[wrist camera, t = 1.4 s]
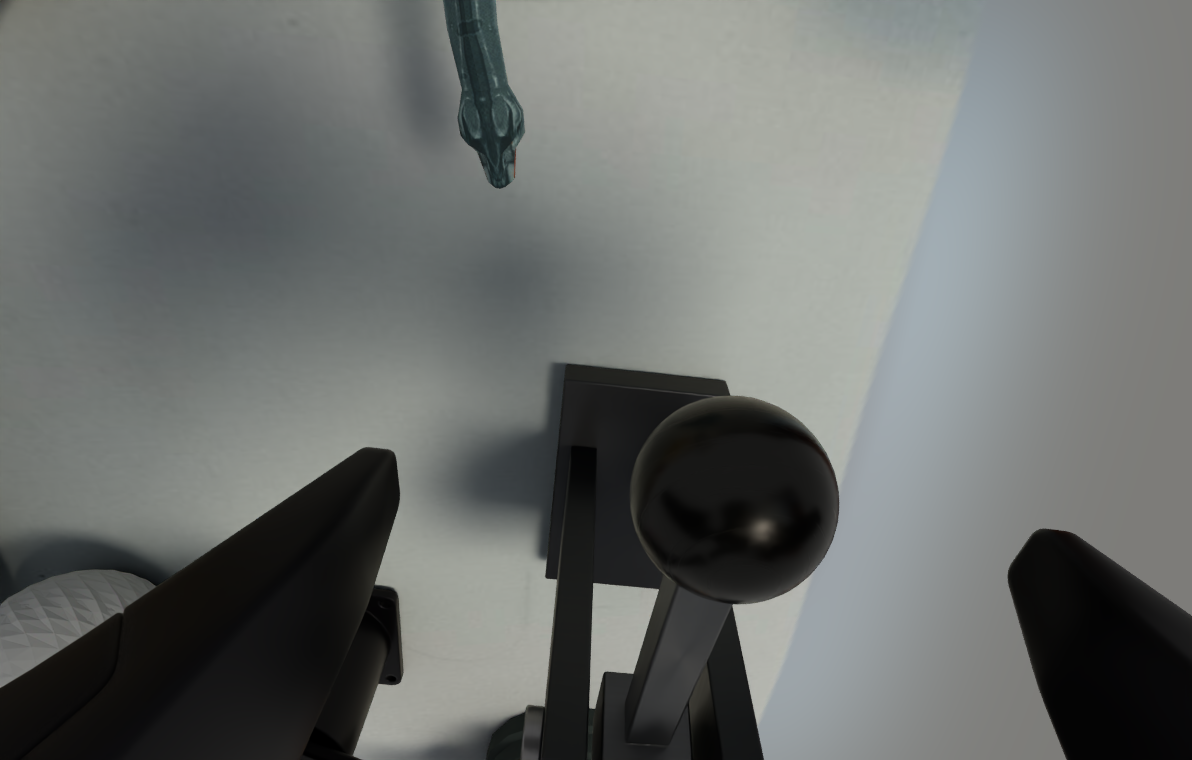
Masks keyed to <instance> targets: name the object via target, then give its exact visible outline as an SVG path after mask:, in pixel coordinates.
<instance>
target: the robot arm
mask: <svg viewBox="0 0 1192 760" xmlns="http://www.w3.org/2000/svg"><path fill="white" fill-rule="evenodd" d="M399 501H400V488H399V479H398V470H397V461H396V456H395V454H394V452H393V451H391V450H388V449H380V448H372V447H365V448H362V449H360V450H359V451H357V452H356V453H354V454H353V455H351V456H350V457H348V458H347V459H345V460H344V461H342V462H341V463H339V464H338V465H336V466H335V467H333V468H332V469H330V470H329V471H327V472H326V473H324V474H323V475H321V476H320V477H318V478H317V479H316V480H314V481H313V482H311V483H310V484H308V485H307V486H305V487H304V488H302V489H301V490H299V491H298V492H296V493H295V494H293V495H292V496H290V497H289V498H287V499H286V500H284V501H283V502H281V503H280V504H278V505H277V506H275V507H274V508H272V509H271V510H269V511H268V512H266V513H265V514H263V515H262V516H261V517H259V518H258V519H256V520H255V521H253V522H252V523H250V524H249V525H247V526H246V527H244V528H243V529H241V530H240V531H238V532H237V533H235V534H234V535H232V536H231V537H229V538H228V539H226V540H225V541H223V542H222V543H220V544H219V545H217V546H216V547H214V548H213V549H211V550H210V551H208V552H207V553H205V554H204V555H203V556H201V557H200V558H198V559H197V560H195V561H194V562H192V563H191V564H189V565H188V566H186V567H185V568H183V569H182V570H180V571H179V572H177V573H176V574H174V575H173V576H171V577H170V578H168V579H167V580H165V581H164V582H162V583H161V584H159V585H158V586H156V587H155V588H153V589H152V590H150V591H149V592H147V593H146V594H145V595H143V596H142V597H140V598H139V599H137V600H136V601H134V602H133V603H131V604H130V605H128V606H127V607H125V609H124V611H123V613H116V614H114V615H113V616H111V617H110V618H108V619H107V620H105V621H104V622H102V623H101V624H100V625H98V626H97V627H95V628H94V629H92V630H91V631H89V632H88V633H86V634H85V635H83V636H82V637H80V638H78V639H77V640H75V641H74V642H72V643H71V644H69V645H68V646H66V647H65V648H63V649H61V650H60V651H58V652H57V653H55V654H54V655H52V656H51V657H49V658H48V659H46V660H44V661H43V662H41V663H40V664H38V665H37V666H35V667H34V668H32V669H31V670H29V671H27V672H26V673H24V674H22V675H21V676H19V677H17V678H16V679H14V680H12V681H11V682H9V683H7V684H6V685H4V686H2V687H1V688H0V760H362V759H359V758H356V757H354V756H353V754H354V751H355V748H356V745H357V742H358V739H359V737H360V734H361V731H362V728H363V725H364V722H365V720H366V717H367V714H368V711H369V708H370V705H371V702H372V700H373V697H374V694H375V691H376V688H377V685H378V684H387V685H396V684H399V683H400V682H401V679H402V676H403V673H404V672H403V658H402V643H401V629H400V614H399V599H398V596H397V594H396V593H395V592H393V591H390V590H384V589H374V588H373V587H374V584H375V581H376V578H377V575H378V571H379V568H380V565H381V562H382V558H383V555H384V552H385V549H386V546H387V542H388V539H389V536H390V533H391V530H392V526H393V523H394V520H395V517H396V514H397V510H398V506H399ZM1008 584H1009V588H1010V592H1011V595H1012V598H1013V602H1014V606H1015V609H1016V613H1017V616H1018V620H1019V623H1020V627H1021V630H1022V633H1023V637H1024V640H1025V644H1026V647H1027V651H1028V654H1029V657H1030V661H1031V665H1032V668H1033V672H1034V675H1035V678H1036V681H1037V684H1038V687H1039V690H1040V693H1041V696H1042V698H1043V701H1044V704H1045V707H1046V709H1047V712H1048V714H1049V717H1050V719H1051V722H1052V724H1053V727H1054V729H1055V732H1056V734H1057V737H1058V739H1059V742H1060V744H1061V747H1062V749H1063V752H1064V754H1065V757H1066V759H1067V760H1192V616H1191V615H1190V614H1188V613H1187V612H1186V611H1184V610H1183V609H1181V608H1180V607H1178V606H1177V605H1176V604H1174V603H1173V602H1171V601H1169V600H1168V599H1167V598H1165V597H1164V596H1163V595H1161V594H1160V593H1158V592H1157V591H1156V590H1154V589H1153V588H1151V587H1150V586H1148V585H1147V584H1146V583H1144V582H1143V581H1141V580H1140V579H1138V578H1137V577H1136V576H1134V575H1133V574H1131V573H1130V572H1128V571H1127V570H1126V569H1124V568H1123V567H1121V566H1120V565H1118V564H1117V563H1116V562H1114V561H1113V560H1111V559H1110V558H1108V557H1107V556H1106V555H1104V554H1103V553H1101V552H1100V551H1098V550H1097V549H1095V548H1094V547H1093V546H1091V545H1090V544H1088V543H1087V542H1086V541H1084V540H1083V539H1081V538H1080V537H1078V536H1077V535H1075V534H1073V533H1070V532H1067V531H1059V530H1051V529H1039V530H1037V531H1035V532H1034V533H1033V534H1032V535H1031V536H1030V537H1029V539H1028V541H1027V542H1026V543H1025V545H1024V546H1023V547H1022V549H1021V550H1020V552H1019V553H1018V555H1017V556H1016V558H1015V559H1014V560H1013V562H1012V563H1011V565H1010V567H1009V570H1008Z"/></svg>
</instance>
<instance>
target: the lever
mask: <svg viewBox="0 0 1192 760" xmlns="http://www.w3.org/2000/svg"><path fill="white" fill-rule="evenodd" d="M629 497H630V509H631V516H632V520H633V524H634V527H635V531H636V534H637V536H638V538H639V540H640V543H641V545H642V546H643V548H644V550H645V552H646V553H647V555H648V556H649V558H650V559H651V560H652V562H653V563H654V564H655V565H656V567H657V568H658V569H659V570H660V571H661V572H662V573H663V574H664V575H663V579H662V582H661V585H660V588H659V592H658V595H657V598H656V602H655V605H654V608H653V612H652V615H651V618H650V621H649V625H648V628H647V631H646V635H645V638H644V641H643V645H642V648H641V651H640V655H639V658H638V661H637V664H636V668H635V671H634V674H627V673H616V672H604V674H603V678H602V682H601V687H600V691H599V695H598V699H597V703H596V708H595V712H594V716H593V734H592V759H591V760H693V753H692V739H691V725H690V711H689V700H690V698H691V696H692V694H693V691H694V689H695V687H696V685H697V682H698V680H699V678H700V676H701V674H702V671H703V669H704V667H705V665H706V662H707V660H708V658H709V656H710V654H711V651H712V649H713V647H714V645H715V642H716V640H717V638H718V636H719V634H720V631H721V629H722V627H723V625H724V622H725V620H726V618H727V616H728V614H729V611H730V609H731V607H732V605H733V604H751V603H758V602H762V601H766V600H769V599H772V598H775V597H777V596H780V595H782V594H784V593H786V592H788V591H790V590H792V589H793V588H795V587H796V586H797V585H799V584H800V583H801V582H803V581H804V580H805V579H806V578H807V577H809V576H810V575H811V573H812V572H813V571H814V570H815V569H816V568H817V566H818V565H819V564H820V563H821V561H822V560H823V558H824V557H825V555H826V553H827V551H828V549H829V547H830V545H831V543H832V540H833V537H834V534H835V531H836V527H837V523H838V515H839V491H838V486H837V481H836V477H835V473H834V470H833V467H832V465H831V463H830V460H829V458H828V456H827V454H826V452H825V450H824V449H823V447H822V446H821V444H820V443H819V441H818V440H817V438H816V437H815V436H814V435H813V434H812V433H811V432H810V431H809V429H808V428H807V427H806V426H805V425H804V424H803V423H802V422H800V421H799V420H798V419H796V418H795V417H794V416H792V415H791V414H789V413H788V412H787V411H785V410H783V409H781V408H779V407H777V406H775V405H772V404H770V403H767V402H765V401H762V400H759V399H755V398H750V397H744V396H718V397H711V398H707V399H702V400H699V401H696V402H693V403H690V404H688V405H686V406H684V407H682V408H680V409H679V410H677V411H675V412H674V413H672V414H671V415H670V416H668V417H667V418H666V419H665V420H663V421H662V422H661V423H660V424H659V425H658V426H657V427H656V428H655V429H654V430H653V432H652V433H651V434H650V436H649V437H648V438H647V440H646V441H645V443H644V444H643V446H642V448H641V450H640V452H639V454H638V456H637V458H636V461H635V465H634V468H633V472H632V475H631V483H630V494H629Z"/></svg>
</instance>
